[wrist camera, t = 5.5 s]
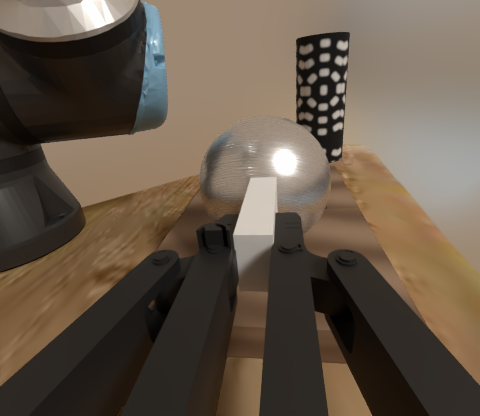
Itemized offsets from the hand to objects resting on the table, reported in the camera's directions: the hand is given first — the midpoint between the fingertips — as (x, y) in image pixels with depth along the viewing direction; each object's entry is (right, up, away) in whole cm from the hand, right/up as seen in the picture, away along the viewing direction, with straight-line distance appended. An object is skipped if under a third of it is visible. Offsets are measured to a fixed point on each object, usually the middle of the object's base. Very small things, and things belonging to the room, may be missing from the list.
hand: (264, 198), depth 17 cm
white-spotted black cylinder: (+14, +9, +37) cm, 41 cm away
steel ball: (0, +1, +5) cm, 5 cm away
